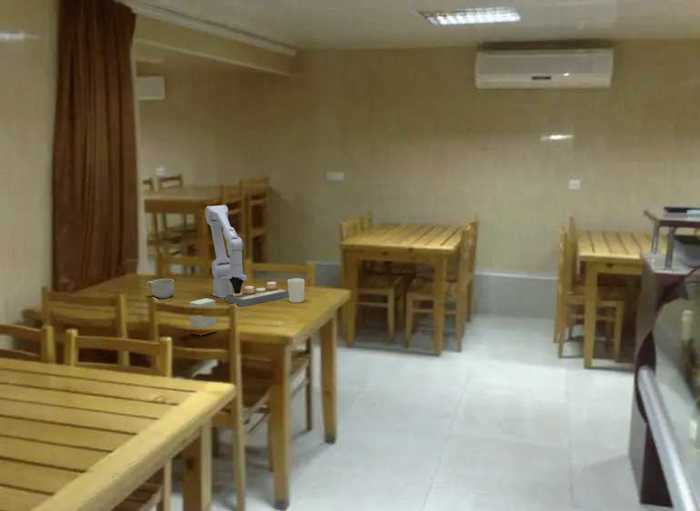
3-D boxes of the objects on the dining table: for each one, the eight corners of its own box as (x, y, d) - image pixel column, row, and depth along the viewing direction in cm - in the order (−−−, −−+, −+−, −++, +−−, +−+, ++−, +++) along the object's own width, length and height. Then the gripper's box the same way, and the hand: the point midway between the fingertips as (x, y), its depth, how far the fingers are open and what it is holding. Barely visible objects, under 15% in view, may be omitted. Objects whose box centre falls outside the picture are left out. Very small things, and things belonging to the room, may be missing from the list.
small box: (207, 329, 265) (205, 297, 263) (217, 332, 261) (215, 300, 259) (190, 334, 259) (188, 301, 257) (200, 337, 255) (198, 304, 253)
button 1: (231, 301, 310) (230, 293, 309) (239, 299, 313) (238, 291, 312) (236, 303, 307) (235, 294, 306) (244, 301, 309) (244, 293, 309)
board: (226, 301, 311) (225, 294, 311) (271, 292, 328) (271, 286, 328) (242, 306, 301) (242, 299, 300) (288, 297, 318) (288, 290, 318)
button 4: (265, 290, 322) (265, 282, 322) (272, 289, 325) (272, 281, 325) (270, 292, 319) (270, 283, 318) (278, 290, 322) (277, 282, 321)
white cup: (302, 303, 306) (301, 282, 304) (286, 302, 307) (285, 281, 305) (307, 299, 313) (306, 278, 311) (291, 298, 315) (290, 278, 313)
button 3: (254, 296, 318) (254, 288, 318) (262, 295, 321) (261, 287, 321) (259, 298, 315) (259, 290, 314) (267, 296, 318) (267, 288, 317)
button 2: (242, 295, 314) (242, 286, 313) (250, 293, 317) (250, 285, 316) (248, 296, 311) (247, 288, 310) (255, 295, 313) (255, 286, 313)
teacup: (179, 295, 325) (178, 279, 324) (164, 300, 316) (163, 284, 314) (157, 293, 331) (156, 277, 330) (142, 298, 322) (140, 281, 320)
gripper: (220, 263, 309) (221, 292, 312) (237, 267, 299) (238, 297, 301) (233, 261, 314) (234, 289, 316) (250, 265, 303) (251, 294, 306)
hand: (237, 293), depth 309 cm, fingers closed, pressing on button 1
